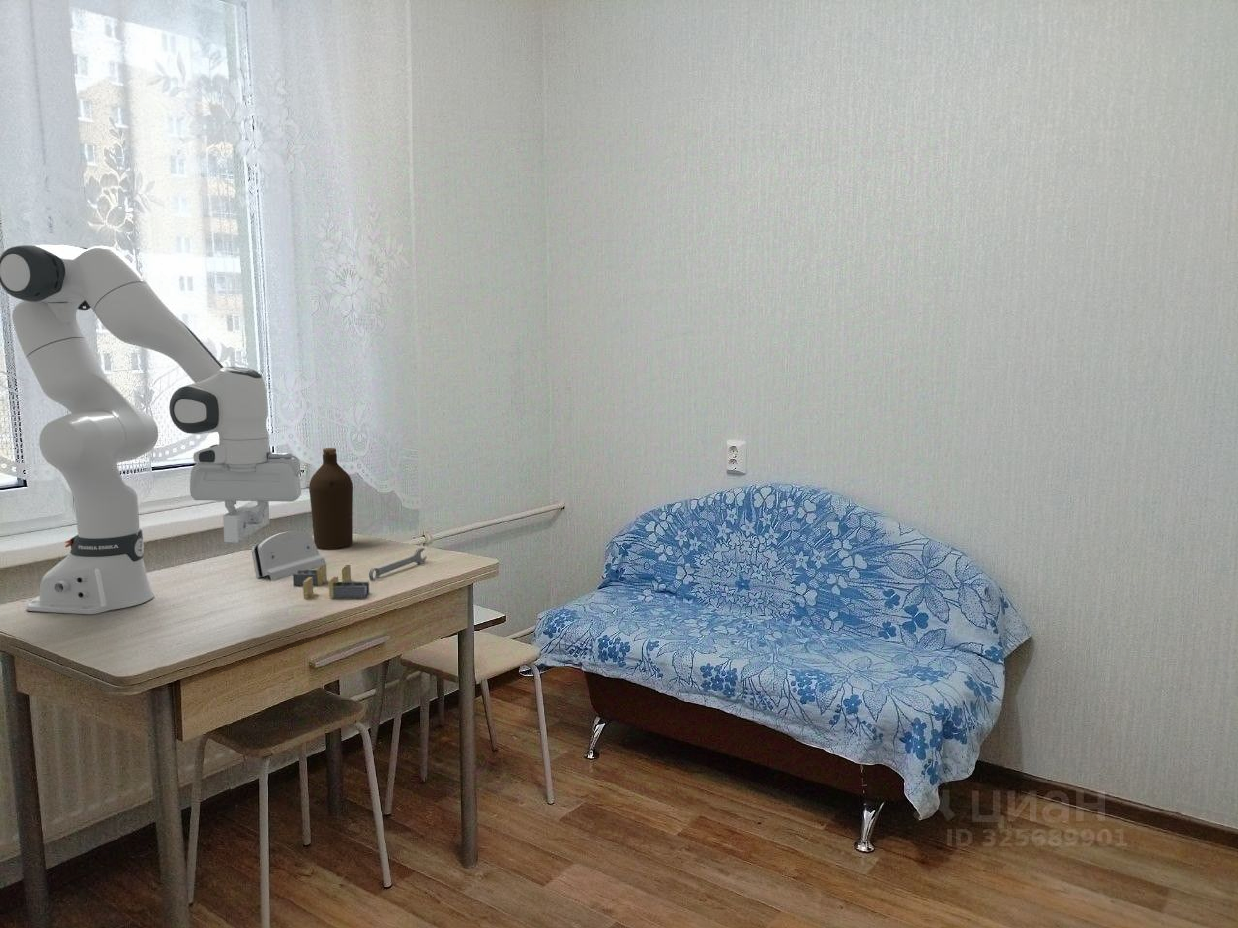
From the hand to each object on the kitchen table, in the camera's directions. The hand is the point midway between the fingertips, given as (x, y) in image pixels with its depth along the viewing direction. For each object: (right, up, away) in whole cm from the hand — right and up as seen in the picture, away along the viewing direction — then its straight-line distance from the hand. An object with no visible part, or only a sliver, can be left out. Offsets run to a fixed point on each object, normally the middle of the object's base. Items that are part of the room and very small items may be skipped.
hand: (247, 523), depth 183 cm
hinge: (-4, -13, +34) cm, 37 cm away
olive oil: (-1, -10, +59) cm, 60 cm away
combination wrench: (+22, -14, +34) cm, 43 cm away
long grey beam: (0, -2, 0) cm, 2 cm away
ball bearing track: (+10, -15, +19) cm, 26 cm away
